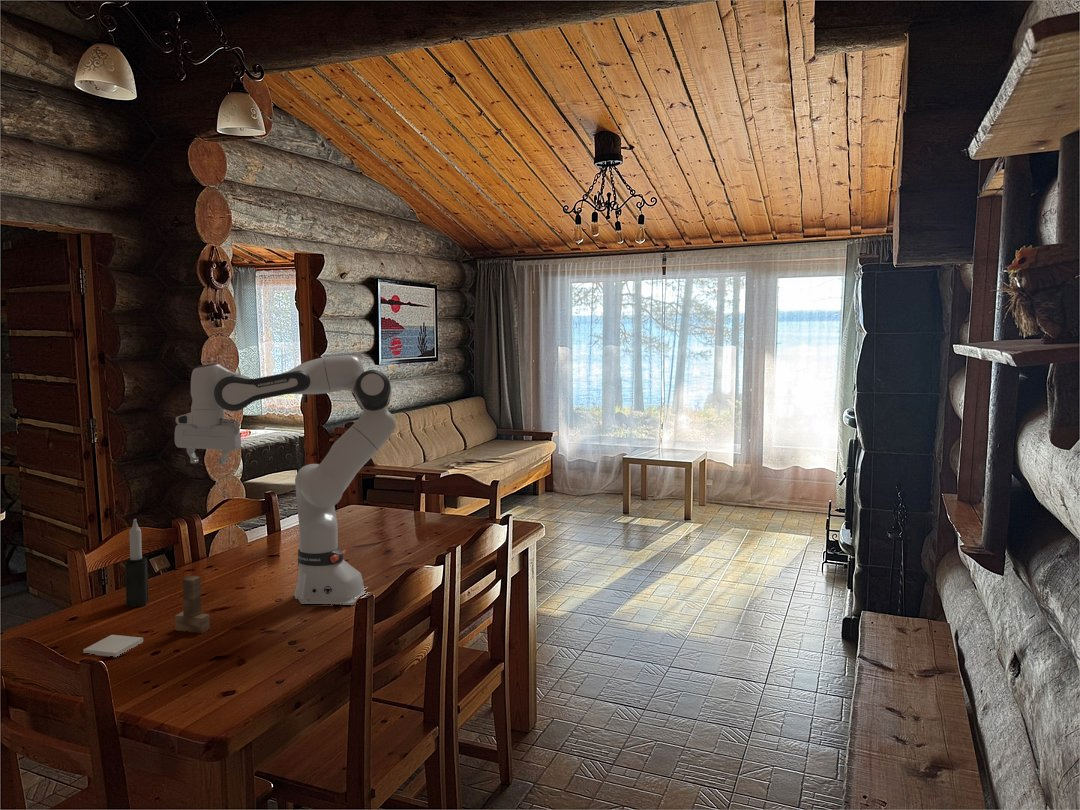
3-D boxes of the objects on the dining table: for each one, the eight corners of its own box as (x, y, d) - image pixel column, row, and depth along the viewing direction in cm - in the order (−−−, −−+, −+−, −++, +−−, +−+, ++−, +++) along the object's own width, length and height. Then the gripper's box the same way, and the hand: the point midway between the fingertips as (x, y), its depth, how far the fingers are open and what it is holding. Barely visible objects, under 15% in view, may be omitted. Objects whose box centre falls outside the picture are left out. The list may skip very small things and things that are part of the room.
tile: (143, 637, 180) (116, 652, 171) (143, 643, 180) (116, 659, 171) (111, 634, 182) (83, 649, 173) (112, 640, 182) (83, 655, 173)
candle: (129, 601, 207) (126, 517, 204) (148, 600, 208) (146, 516, 206) (125, 608, 202) (122, 521, 200) (146, 606, 204) (143, 520, 201)
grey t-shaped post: (209, 628, 189) (208, 577, 188) (202, 633, 186) (201, 581, 185) (183, 625, 190) (182, 574, 189) (175, 630, 188) (174, 578, 186)
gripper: (245, 418, 214) (245, 463, 215) (185, 415, 218) (186, 460, 219) (232, 420, 208) (233, 467, 209) (170, 417, 211) (171, 463, 213)
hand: (208, 463), depth 214 cm, fingers open, 8 cm apart
